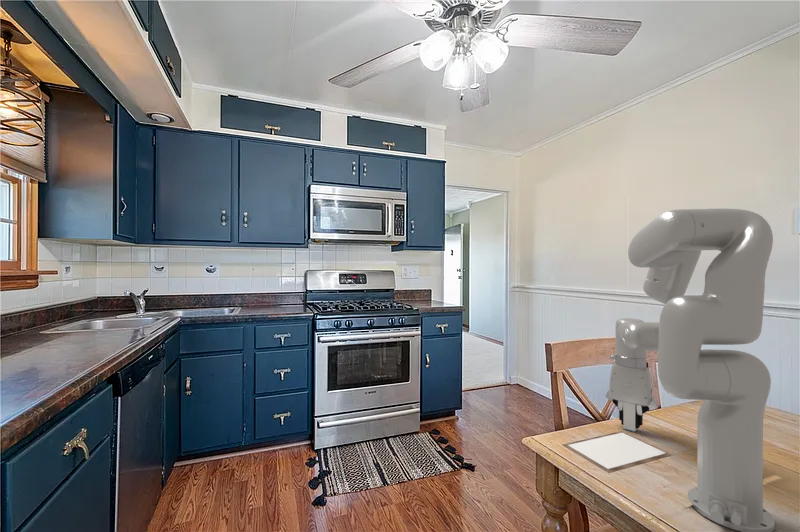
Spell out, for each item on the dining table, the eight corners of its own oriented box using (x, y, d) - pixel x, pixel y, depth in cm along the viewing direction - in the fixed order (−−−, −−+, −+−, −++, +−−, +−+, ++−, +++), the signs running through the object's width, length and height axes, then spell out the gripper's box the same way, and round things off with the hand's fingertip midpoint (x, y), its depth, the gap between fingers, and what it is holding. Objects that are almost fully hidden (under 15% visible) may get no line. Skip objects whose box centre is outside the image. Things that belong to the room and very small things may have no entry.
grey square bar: (635, 435, 103) (635, 396, 103) (623, 432, 105) (623, 393, 105) (637, 432, 105) (637, 393, 105) (625, 428, 107) (625, 390, 107)
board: (621, 433, 104) (621, 431, 104) (673, 458, 91) (673, 454, 91) (561, 447, 96) (561, 444, 96) (608, 476, 83) (608, 472, 83)
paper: (622, 433, 103) (622, 432, 103) (666, 453, 92) (666, 452, 92) (567, 445, 96) (567, 445, 96) (608, 469, 85) (608, 468, 85)
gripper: (595, 359, 108) (596, 420, 108) (662, 370, 97) (662, 439, 97) (603, 354, 113) (603, 413, 114) (667, 364, 102) (667, 429, 102)
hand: (630, 424), depth 105 cm, fingers closed on grey square bar, 2 cm apart
